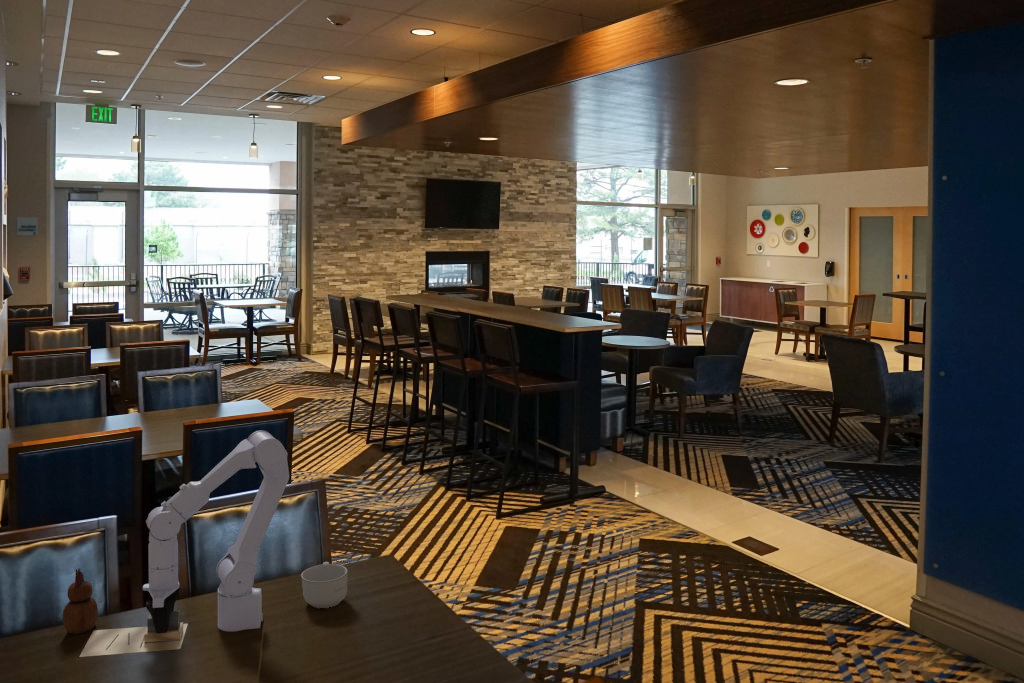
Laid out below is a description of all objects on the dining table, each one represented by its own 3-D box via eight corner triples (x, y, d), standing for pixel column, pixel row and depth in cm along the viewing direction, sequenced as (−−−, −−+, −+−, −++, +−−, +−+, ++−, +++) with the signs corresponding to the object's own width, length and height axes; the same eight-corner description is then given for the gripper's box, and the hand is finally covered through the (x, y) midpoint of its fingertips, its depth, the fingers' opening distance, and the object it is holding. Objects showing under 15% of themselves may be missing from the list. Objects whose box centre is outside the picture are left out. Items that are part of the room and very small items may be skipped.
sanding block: (183, 631, 177) (183, 609, 176) (180, 640, 173) (180, 618, 172) (148, 633, 175) (148, 611, 175) (144, 643, 171) (144, 620, 170)
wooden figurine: (81, 641, 173) (80, 573, 172) (57, 638, 174) (56, 570, 173) (103, 627, 180) (102, 561, 178) (80, 624, 181) (79, 559, 180)
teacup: (341, 614, 191) (342, 580, 190) (295, 612, 191) (295, 579, 190) (353, 590, 205) (354, 559, 204) (310, 588, 205) (311, 557, 204)
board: (187, 628, 181) (187, 623, 181) (180, 654, 169) (180, 648, 169) (93, 635, 176) (93, 630, 176) (79, 662, 164) (79, 656, 164)
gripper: (149, 553, 178) (149, 613, 180) (136, 578, 164) (137, 643, 166) (183, 551, 180) (184, 610, 181) (173, 576, 166) (174, 640, 167)
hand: (164, 626), depth 174 cm, fingers open, 5 cm apart
